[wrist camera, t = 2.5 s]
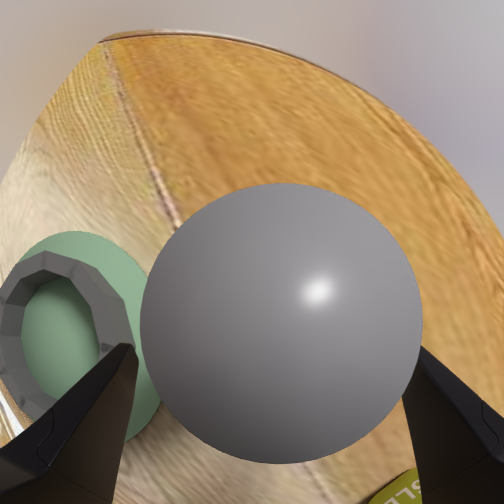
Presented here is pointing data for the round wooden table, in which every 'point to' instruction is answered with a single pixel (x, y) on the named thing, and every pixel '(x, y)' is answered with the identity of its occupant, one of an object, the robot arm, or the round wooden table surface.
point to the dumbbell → (401, 490)
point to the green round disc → (71, 321)
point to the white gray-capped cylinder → (281, 323)
